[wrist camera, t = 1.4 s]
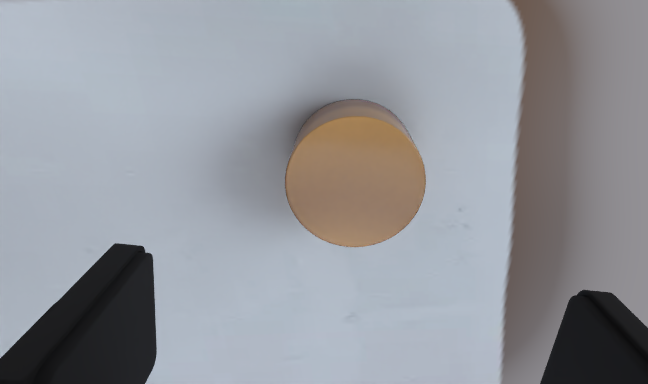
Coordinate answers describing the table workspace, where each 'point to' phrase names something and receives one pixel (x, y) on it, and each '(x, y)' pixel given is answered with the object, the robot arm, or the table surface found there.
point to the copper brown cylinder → (354, 174)
